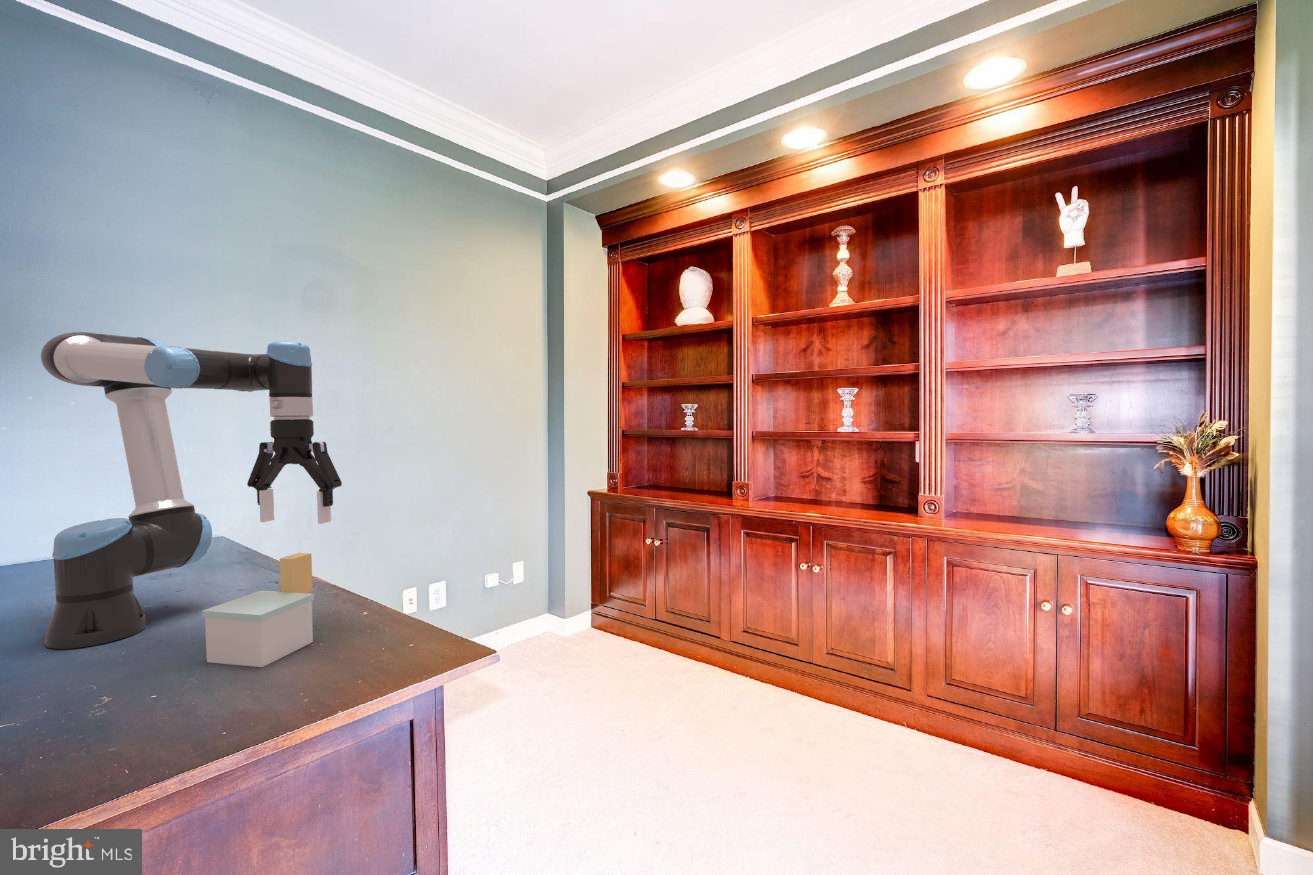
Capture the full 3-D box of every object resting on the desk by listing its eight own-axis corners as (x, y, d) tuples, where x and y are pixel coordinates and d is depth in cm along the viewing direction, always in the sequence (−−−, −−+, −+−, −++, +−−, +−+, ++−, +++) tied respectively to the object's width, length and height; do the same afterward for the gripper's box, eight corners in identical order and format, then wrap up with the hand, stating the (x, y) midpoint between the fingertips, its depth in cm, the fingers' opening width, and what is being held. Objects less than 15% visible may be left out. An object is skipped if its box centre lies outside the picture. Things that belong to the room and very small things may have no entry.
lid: (202, 617, 108) (200, 574, 108) (280, 589, 125) (279, 551, 125) (260, 621, 106) (259, 577, 105) (332, 592, 123) (331, 554, 123)
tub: (206, 662, 109) (205, 616, 108) (262, 637, 120) (260, 596, 120) (262, 667, 106) (260, 620, 106) (312, 641, 118) (311, 600, 118)
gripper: (223, 419, 119) (228, 523, 120) (332, 418, 114) (335, 526, 115) (255, 419, 126) (259, 517, 127) (358, 417, 121) (361, 519, 122)
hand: (295, 521), depth 121 cm, fingers open, 13 cm apart
